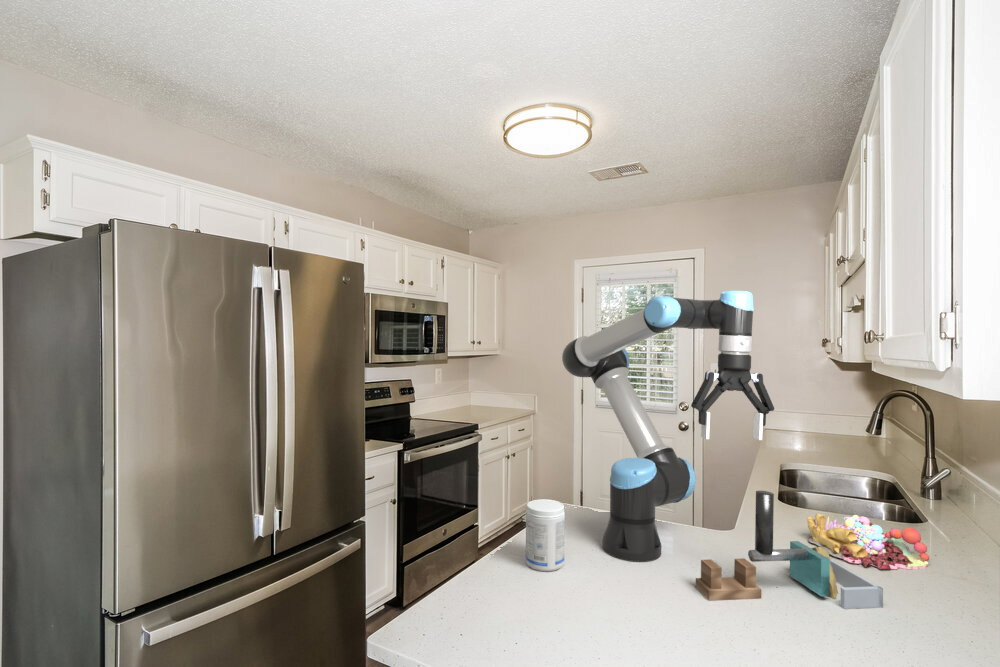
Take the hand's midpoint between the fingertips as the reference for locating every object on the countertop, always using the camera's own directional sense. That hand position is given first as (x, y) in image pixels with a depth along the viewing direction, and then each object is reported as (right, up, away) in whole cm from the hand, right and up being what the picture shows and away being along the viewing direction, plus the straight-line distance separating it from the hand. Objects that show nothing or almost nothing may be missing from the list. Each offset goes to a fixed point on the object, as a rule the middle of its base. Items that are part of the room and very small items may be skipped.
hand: (731, 438), depth 128 cm
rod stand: (-7, -32, -14) cm, 35 cm away
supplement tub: (-47, -31, -1) cm, 56 cm away
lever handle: (+6, -31, -12) cm, 34 cm away
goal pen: (+18, -32, -11) cm, 39 cm away
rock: (+18, -32, -10) cm, 38 cm away
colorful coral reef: (+41, -33, +11) cm, 54 cm away
